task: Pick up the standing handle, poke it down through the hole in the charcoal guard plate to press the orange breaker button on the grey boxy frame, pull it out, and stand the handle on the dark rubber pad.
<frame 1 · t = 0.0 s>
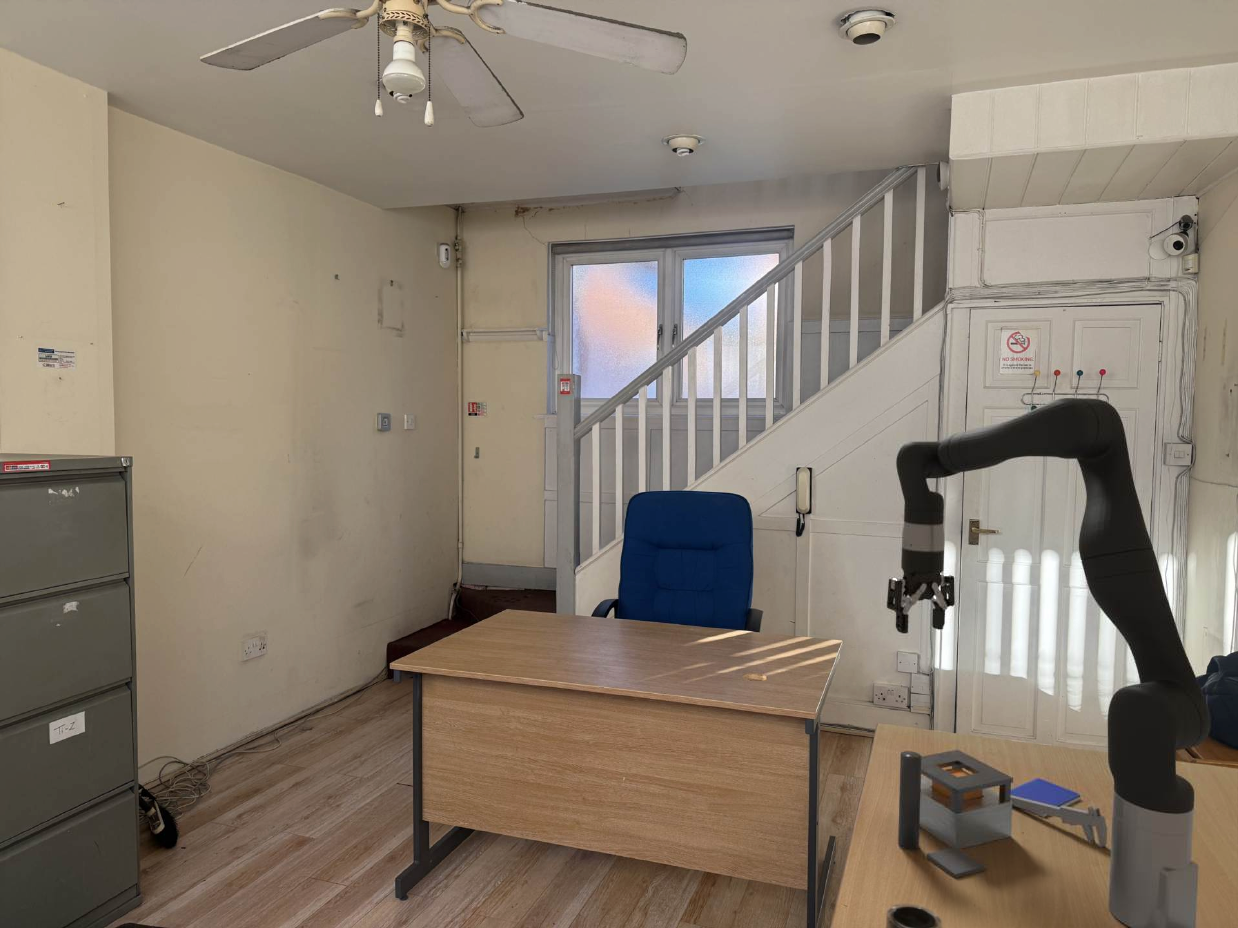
hand: (920, 630, 150), 29 cm above the table, fingers open, 8 cm apart
grey boxy frame: (955, 825, 135), on the table
hard drive: (1039, 802, 145), on the table
pad: (955, 863, 123), on the table
caliper: (1043, 822, 137), on the table
breaker button: (956, 790, 134), point 6 cm above the table, slide at 0.0 cm
handle: (908, 844, 128), on the table
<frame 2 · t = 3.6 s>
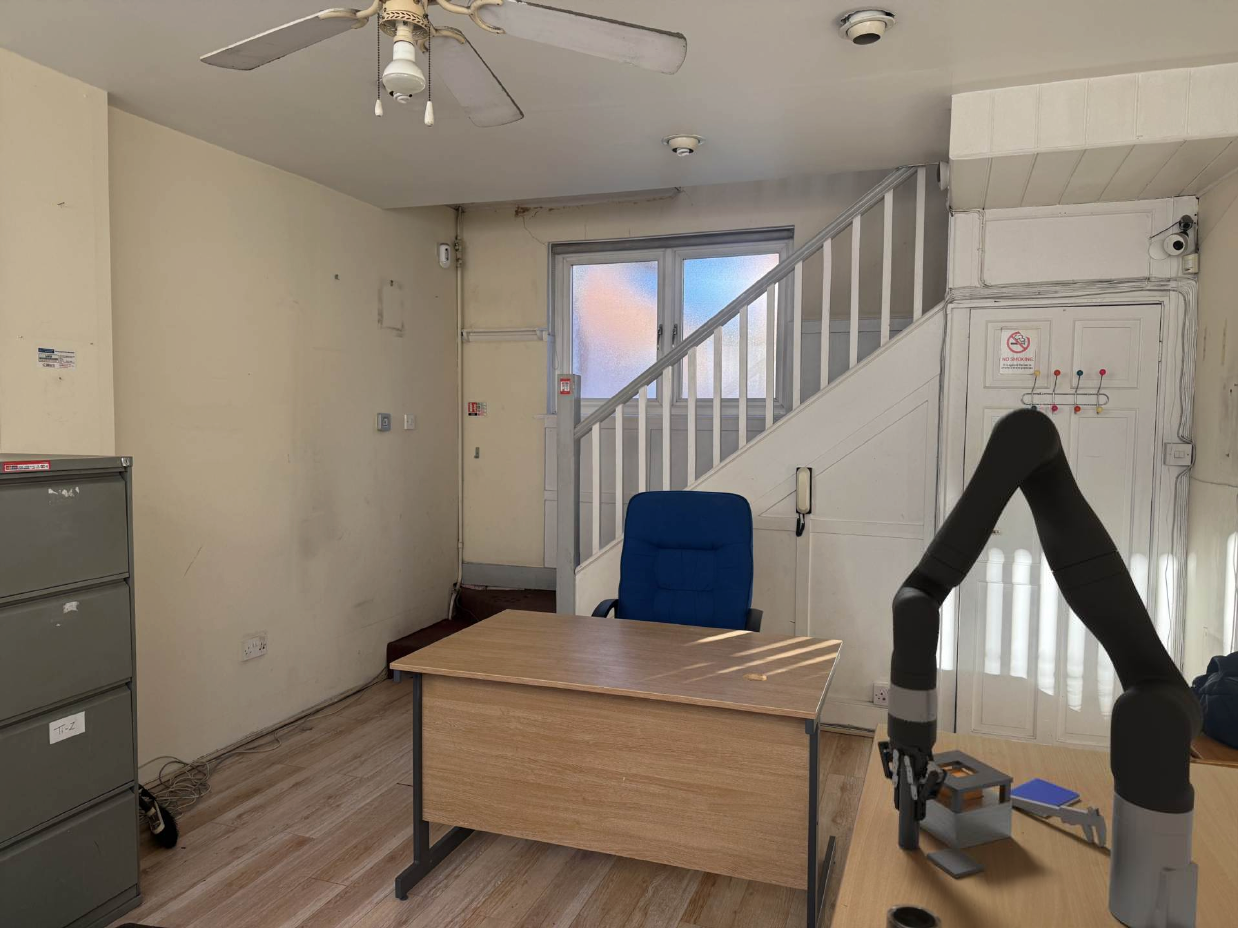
hand: (909, 813, 128), 5 cm above the table, fingers closed on handle, 3 cm apart
handle: (908, 844, 128), on the table, touching gripper
everything else where it was.
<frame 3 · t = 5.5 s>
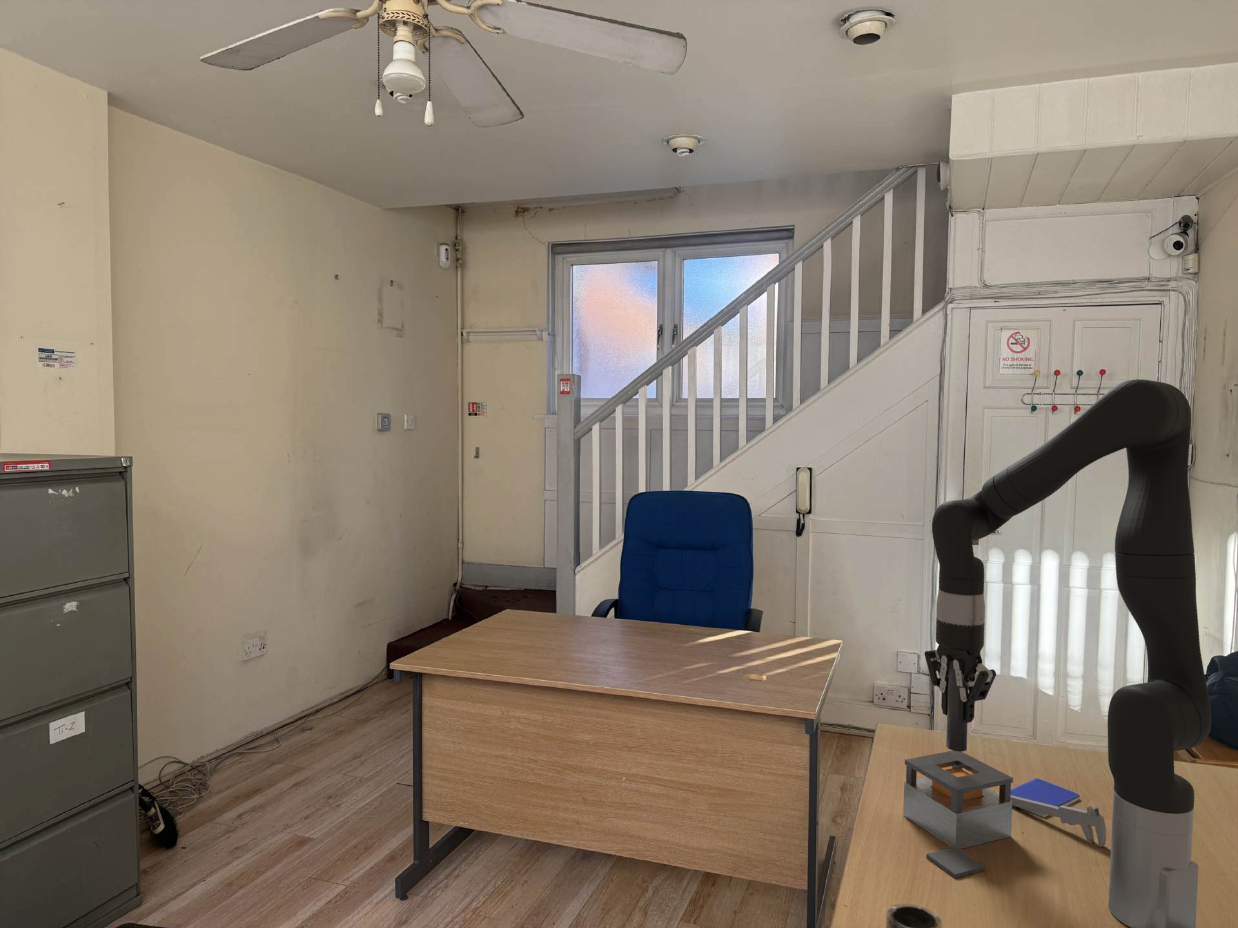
hand: (957, 717, 133), 19 cm above the table, fingers closed on handle, 3 cm apart
handle: (956, 747, 134), point 14 cm above the table, touching gripper
everything else where it was.
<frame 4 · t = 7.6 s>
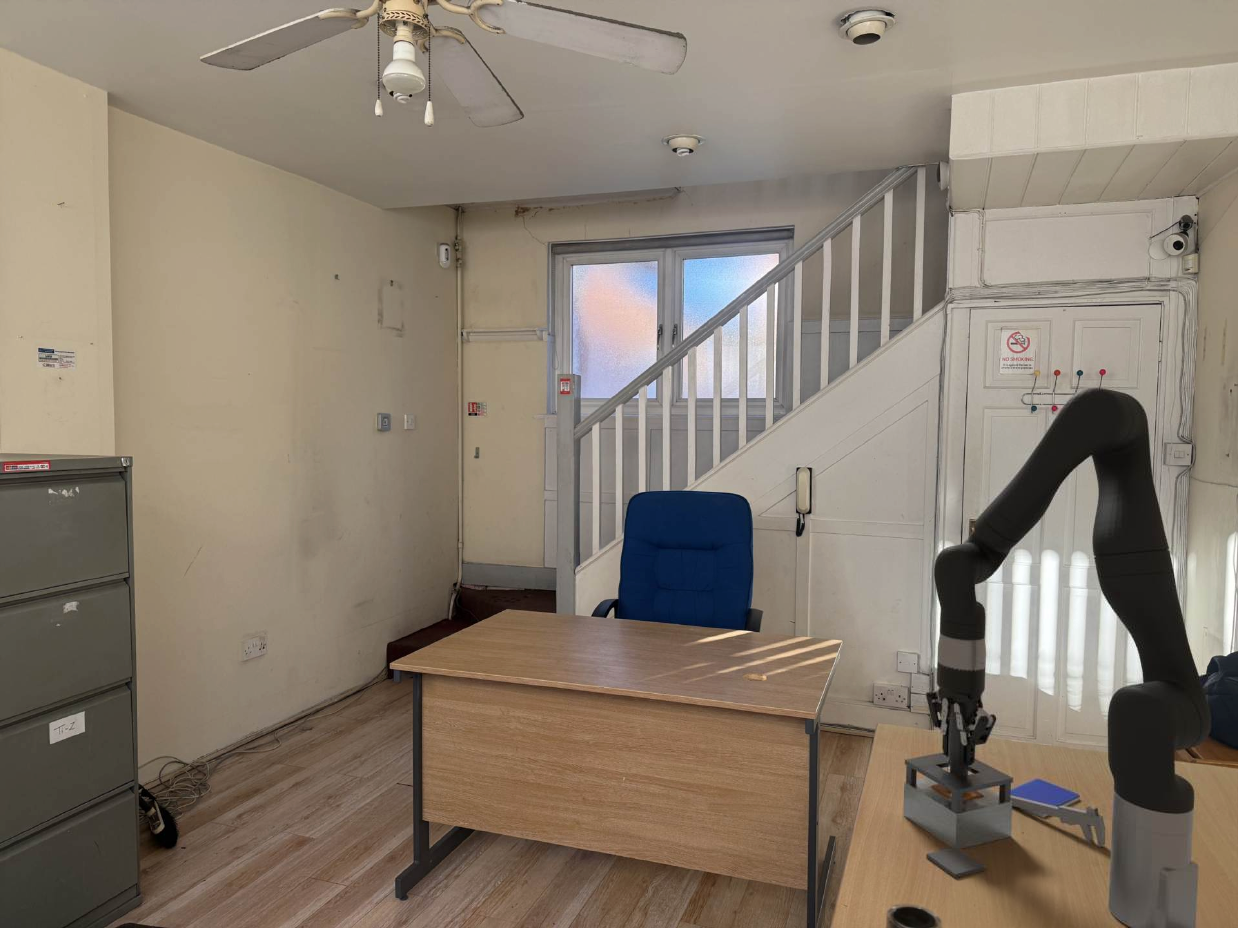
hand: (957, 759, 134), 11 cm above the table, fingers closed on handle, 3 cm apart
breaker button: (956, 803, 135), point 4 cm above the table, slide at 2.3 cm, touching handle
handle: (957, 789, 134), point 6 cm above the table, touching breaker button, gripper
everything else where it was.
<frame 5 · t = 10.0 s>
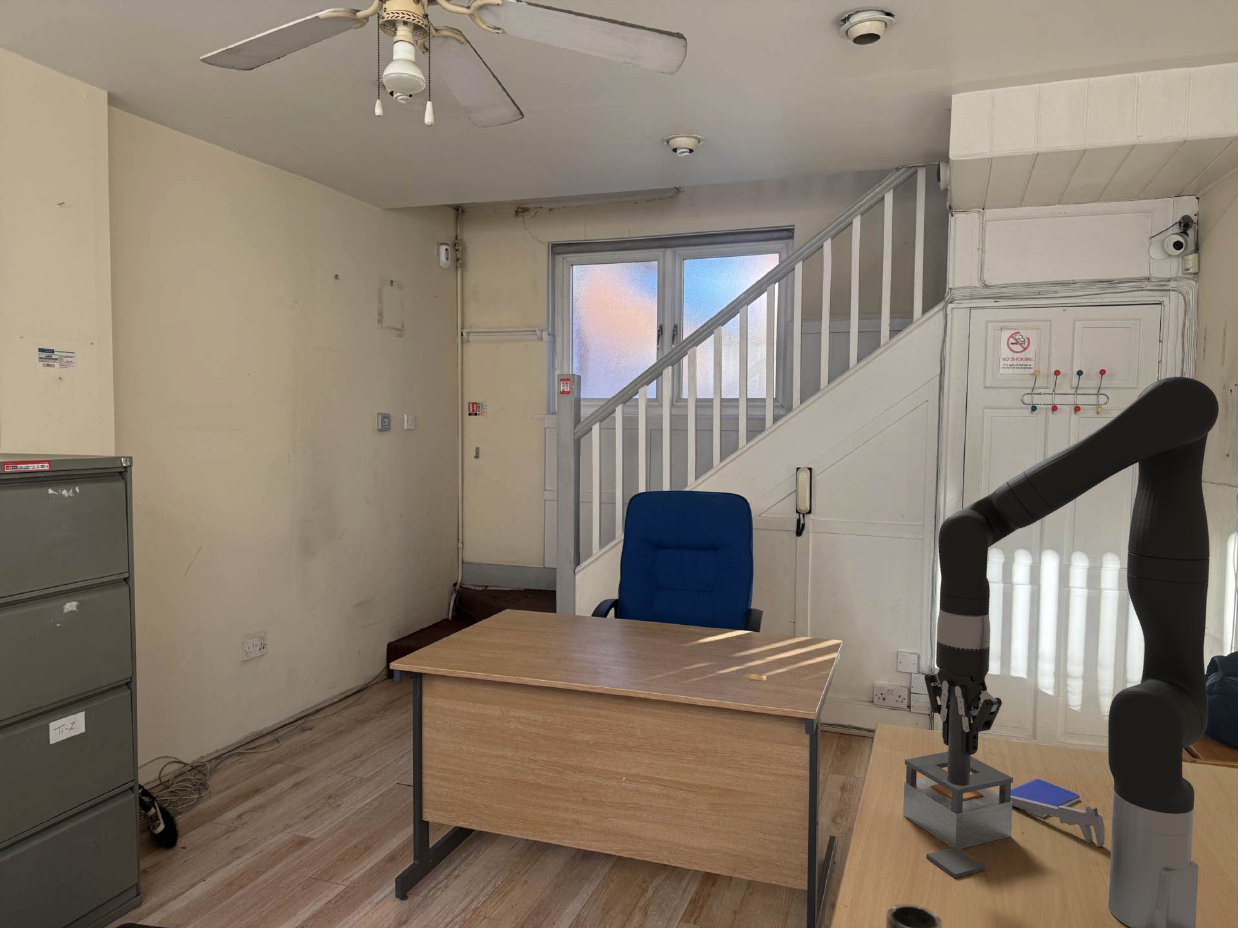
hand: (959, 748, 122), 18 cm above the table, fingers closed on handle, 3 cm apart
breaker button: (956, 803, 135), point 4 cm above the table, slide at 2.3 cm
handle: (958, 780, 122), point 13 cm above the table, touching gripper
everything else where it was.
when the fingers open (7 cm above the table, at t = 12.3 s): handle stays where it is, resting on pad.
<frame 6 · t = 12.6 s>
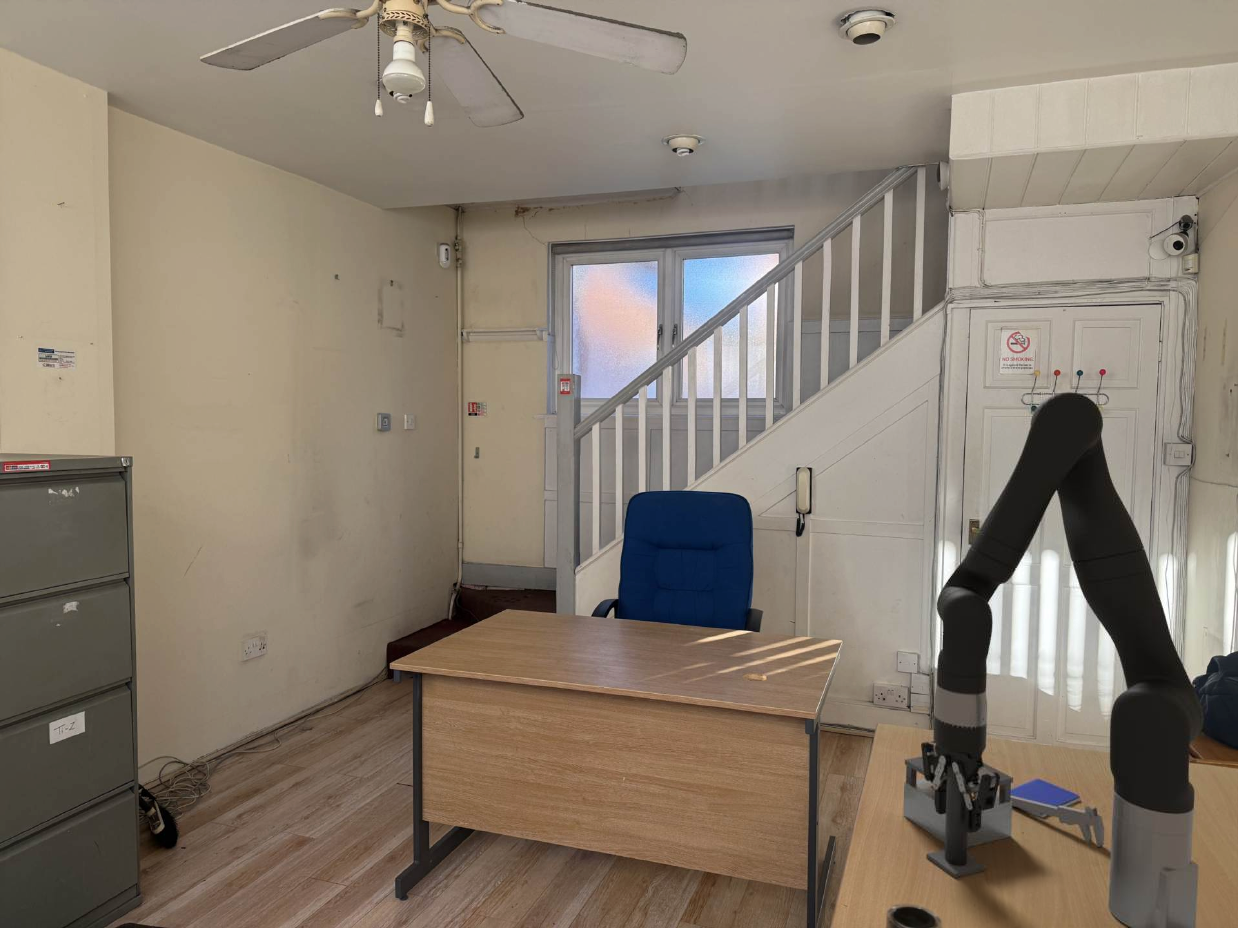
hand: (956, 820, 123), 7 cm above the table, fingers open, 5 cm apart
handle: (955, 859, 123), point 1 cm above the table, touching pad
everything else where it was.
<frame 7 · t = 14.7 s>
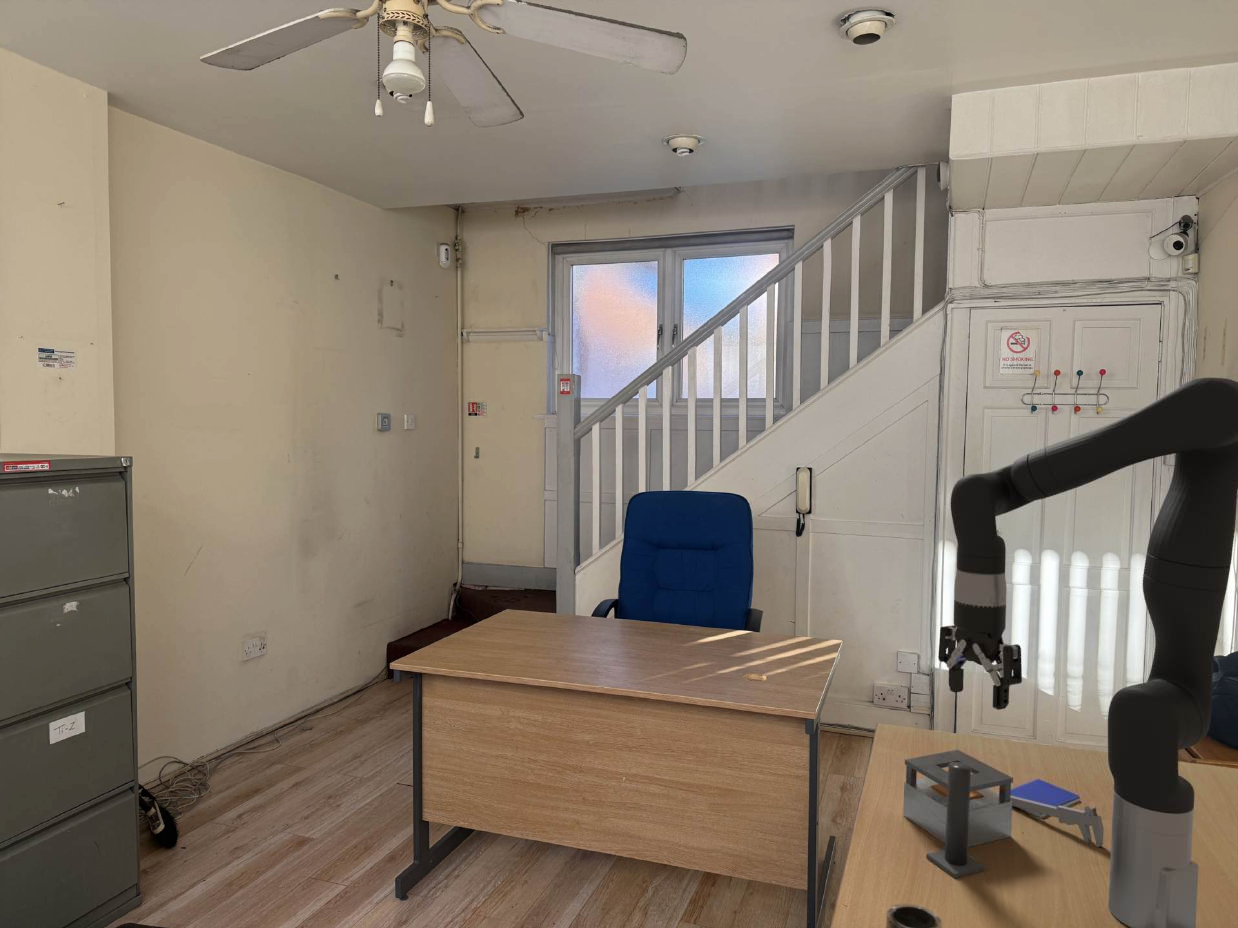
hand: (977, 699, 125), 25 cm above the table, fingers open, 8 cm apart
nothing on the table moved.
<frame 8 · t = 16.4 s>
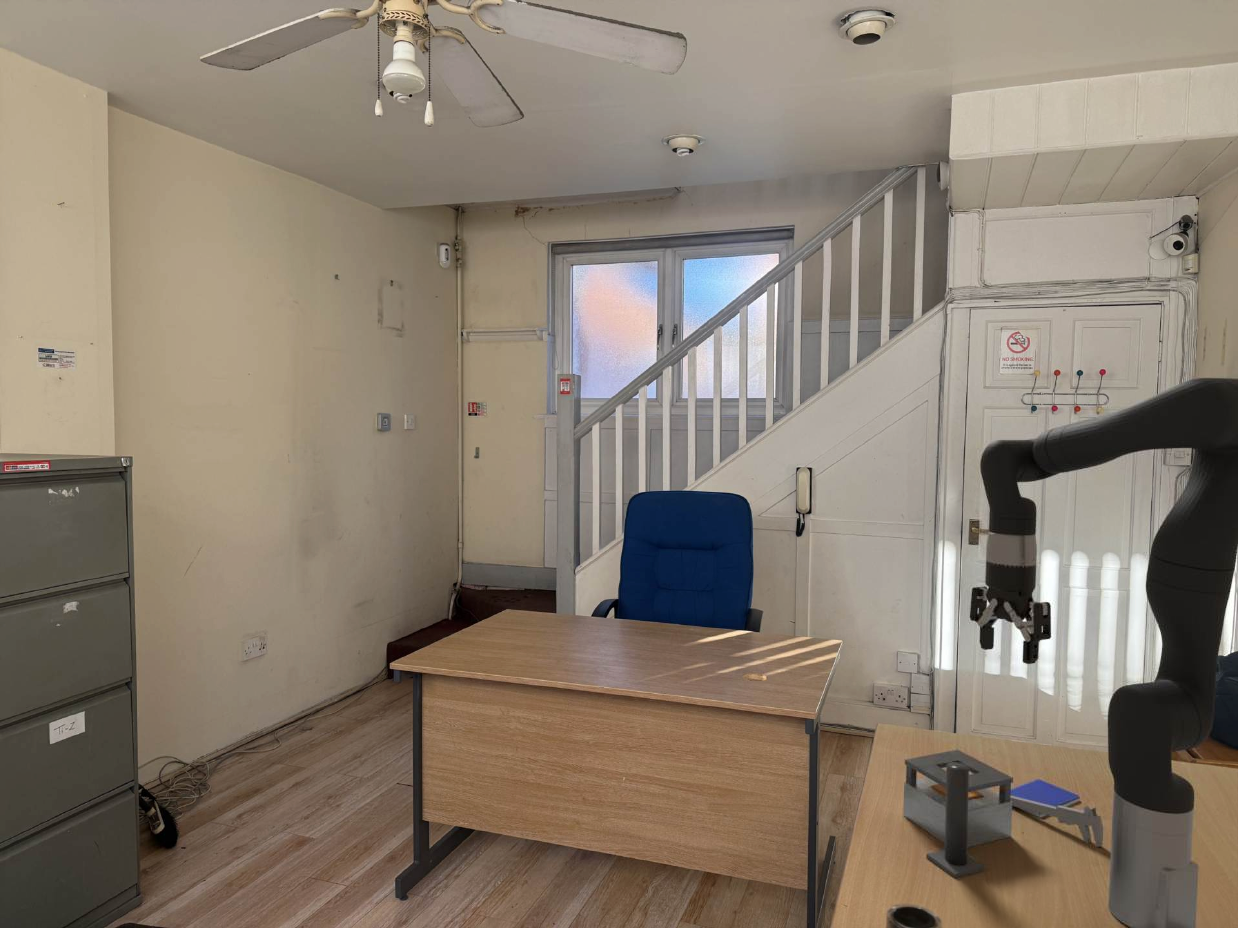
hand: (1007, 655, 132), 30 cm above the table, fingers open, 8 cm apart
nothing on the table moved.
at the end: breaker button slide at 2.3 cm; handle inside the target area on the pad (0.1 cm from its centre), point 0.6 cm above the pad's base; handle tilted 1° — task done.
